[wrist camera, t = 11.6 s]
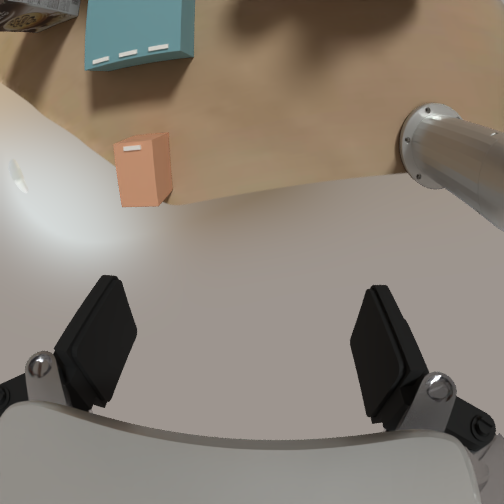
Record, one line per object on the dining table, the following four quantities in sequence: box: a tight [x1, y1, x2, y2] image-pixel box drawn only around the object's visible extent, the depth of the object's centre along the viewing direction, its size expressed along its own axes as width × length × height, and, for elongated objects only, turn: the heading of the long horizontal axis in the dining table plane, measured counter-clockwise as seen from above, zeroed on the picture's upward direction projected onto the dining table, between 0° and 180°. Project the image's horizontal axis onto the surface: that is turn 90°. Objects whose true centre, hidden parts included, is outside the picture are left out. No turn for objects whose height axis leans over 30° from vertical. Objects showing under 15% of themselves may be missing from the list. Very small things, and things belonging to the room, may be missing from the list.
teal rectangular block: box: [85, 0, 195, 71], centre depth 22 cm, size 12×16×6 cm
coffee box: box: [0, 0, 80, 33], centre depth 15 cm, size 9×6×16 cm
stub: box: [113, 133, 173, 207], centre depth 33 cm, size 5×8×6 cm, turn 179°
